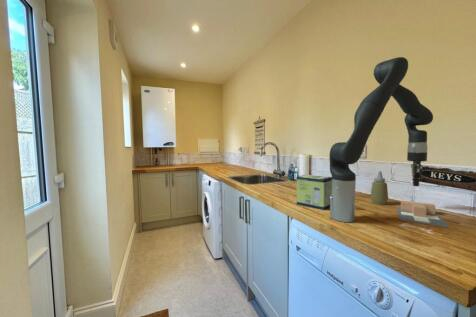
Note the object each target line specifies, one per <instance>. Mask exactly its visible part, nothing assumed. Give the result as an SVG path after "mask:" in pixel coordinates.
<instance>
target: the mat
mask: <svg viewBox="0 0 476 317" xmlns="http://www.w3.org/2000/svg"><path fill="white" fill-rule="evenodd" d="M396 210H397V213H398V217H399V218H398V219H399V221H404V222H409V223H410V222H411V223H418V224H422V225H423V224H424V225H430V226H435V227H444V228H449V229H450V226H449V224H448V223H447V222H446V221H445V220H444V219H443V217H441V215H440V214H439V213H438V212H437V211H435V215H433V214H426V217H419V216H414V215H413V213H412V212H410V211H402V210H401V206H396Z"/></svg>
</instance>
